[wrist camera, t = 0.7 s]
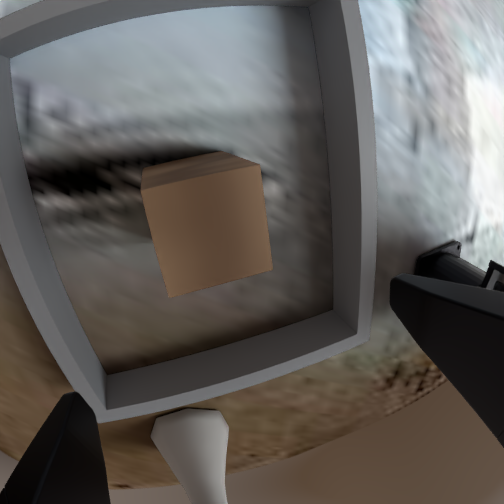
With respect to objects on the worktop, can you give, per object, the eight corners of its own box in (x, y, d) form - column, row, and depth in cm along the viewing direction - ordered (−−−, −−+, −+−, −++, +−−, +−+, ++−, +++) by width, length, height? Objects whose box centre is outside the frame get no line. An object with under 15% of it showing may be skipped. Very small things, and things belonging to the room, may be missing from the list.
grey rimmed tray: (322, -7, 15) (352, -23, 12) (345, 316, 25) (369, 340, 22) (-8, 49, 10) (-35, 37, 7) (99, 388, 21) (98, 423, 18)
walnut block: (221, 150, 18) (259, 164, 12) (233, 224, 19) (272, 269, 14) (142, 168, 17) (140, 190, 11) (160, 242, 18) (169, 297, 13)
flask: (226, 445, 28) (259, 527, 19) (155, 454, 26) (174, 542, 17) (229, 400, 25) (270, 498, 16) (144, 409, 23) (161, 517, 14)
